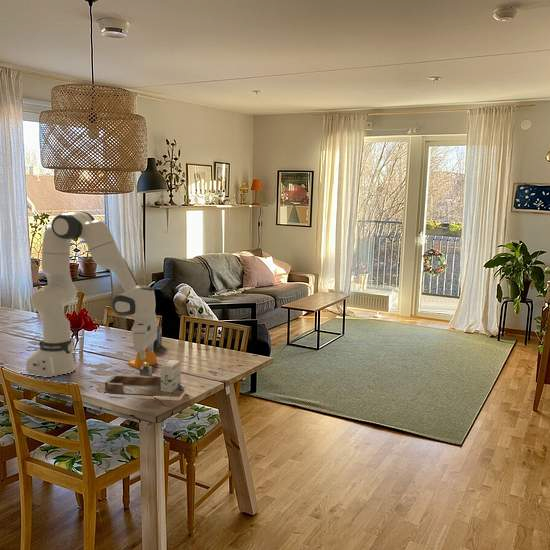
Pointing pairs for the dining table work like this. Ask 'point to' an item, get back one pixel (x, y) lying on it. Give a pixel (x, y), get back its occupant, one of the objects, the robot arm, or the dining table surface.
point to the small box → (158, 339)
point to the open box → (117, 381)
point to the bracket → (139, 362)
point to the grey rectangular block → (146, 369)
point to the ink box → (170, 375)
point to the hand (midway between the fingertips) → (146, 355)
